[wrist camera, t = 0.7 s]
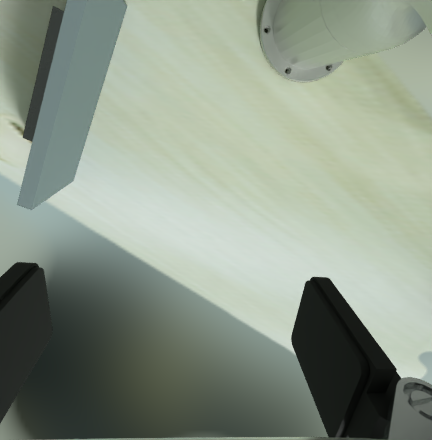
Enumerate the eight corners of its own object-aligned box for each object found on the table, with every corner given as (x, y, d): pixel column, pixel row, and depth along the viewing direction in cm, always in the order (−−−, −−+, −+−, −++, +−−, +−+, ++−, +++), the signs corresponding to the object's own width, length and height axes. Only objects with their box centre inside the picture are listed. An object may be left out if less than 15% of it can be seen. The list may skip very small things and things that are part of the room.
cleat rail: (61, 11, 35) (53, 6, 33) (78, 20, 35) (71, 15, 33) (31, 135, 40) (22, 137, 38) (46, 141, 40) (38, 144, 38)
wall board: (115, -1, 35) (78, -47, 24) (127, 6, 35) (96, -36, 24) (62, 176, 43) (17, 204, 32) (73, 181, 43) (31, 210, 32)
